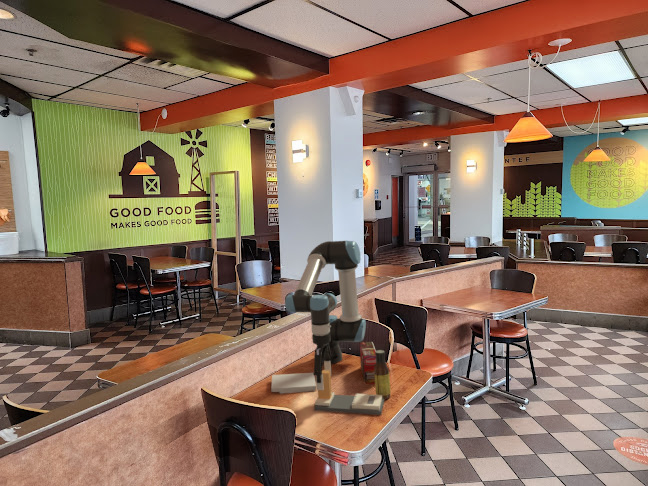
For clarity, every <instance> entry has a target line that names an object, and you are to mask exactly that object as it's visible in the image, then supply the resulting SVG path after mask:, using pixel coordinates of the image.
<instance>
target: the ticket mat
mask: <svg viewBox="0 0 648 486" xmlns="http://www.w3.org/2000/svg"><path fill="white" fill-rule="evenodd" d="M384 405H385V399H384V398H383V397H382V395H376V394H373V393H372V394H369V393H355V395H345V394H335V396H334V398H333V400H332V402H331V404H330V406H322V405H315V404H314V407H313V409H314V411H317V412H318V411H319V412H332V413H333V412H334V413H346V414H348V413H349V414H360V415H361V414H364V415H375V416H381V415H382V413H383V408H384Z"/></svg>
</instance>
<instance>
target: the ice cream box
mask: <svg viewBox="0 0 648 486" xmlns="http://www.w3.org/2000/svg"><path fill="white" fill-rule="evenodd" d="M375 351H377V350H376V348H375V345H374V343H373V341H361V342H359V354H360V356H359V357H360V358H359V361H360V369H361V373H362V377H363V382H364V385H375V375H374V373H375V372H374V366H375V364H376V355H375Z"/></svg>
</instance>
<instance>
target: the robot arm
mask: <svg viewBox="0 0 648 486" xmlns="http://www.w3.org/2000/svg"><path fill="white" fill-rule="evenodd" d="M306 261H307V264H306V266H305V269H304V271H303V273H302V275H301V278H300V280H299V282H298V284H297V287H296V289H295V292H294V294H288V295H286V297H285V301H284V306H285V309H286V311H287V312H289V313H290V312H291V313H310V318H311V319H310V320H311V325H310V326H311V333H312V334H311V336H312V337H311V339H312V343H313V344H314V345H316V348H315V349H314V357H313V358H314V364H313V365H314V369H313V372H312V373H313V375H314V376H315V383H316V391H318V390H324V387H323V374H322V370H328V371H330V375H331V376H332V366H331V365H333V364H337V363H340V362H341V361H342V360H343V353H342V350H341V348H340V345H339V342H345V343H346V342H349V343H360V342H363V341H364V338H365V334H366V328H367V327H366V326H367V321H366V319H364V318H363V315H362V314H361V313H359V304H358V302H359V301H358V291H357V278H356V269H357V268H358V266H359V264H360V263H361V251H360V246H359V245H358V243H357V242H356V241H354V240H335V241H333V240H332V241H330V240H329V241H324V242H322V243H320V244H318V245H317V246H315V247H314V248H313V249H312V250H311V251H310V253H309V254H308V256H307V259H306ZM326 265H334V269H335V270H337V272H338V283H339V294H340V304H341V315H340V316H339V318H338V316H337V315H336V314H335V315H334V314H330V313H332V312H333V311H334V310H335V309H336V307H337V306H338V299H337V296H335V295H334V294H333V293H332V292H331V293H323V294H313V293H314V289H315V286H316V285H317V281H318V280H319V277H320V276H321V275H320V274H321V272H322V269H324V268H325V267H326ZM323 366H324V368H323Z"/></svg>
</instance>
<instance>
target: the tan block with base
mask: <svg viewBox="0 0 648 486" xmlns="http://www.w3.org/2000/svg"><path fill="white" fill-rule="evenodd" d="M322 374H323V387H324V390H317V396H318V397H317V398H316V399H315V401H314V406H315V405H322V406H330V404H331V402H332V400H333V398H334V396H335V395H336V392H334V391H333V392H332V383H331V382H332V378H331V377H332V374H331V375H330V371H328V370H324V369H322Z"/></svg>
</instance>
